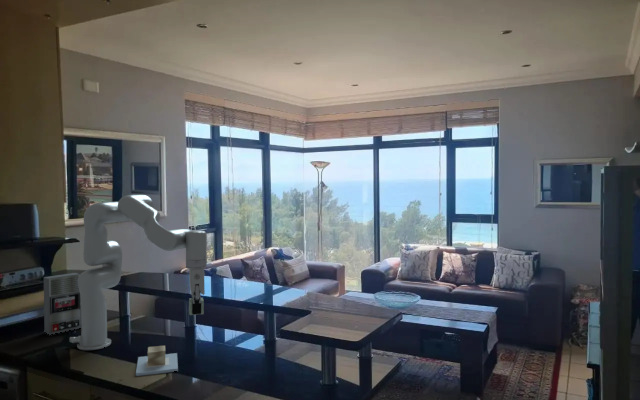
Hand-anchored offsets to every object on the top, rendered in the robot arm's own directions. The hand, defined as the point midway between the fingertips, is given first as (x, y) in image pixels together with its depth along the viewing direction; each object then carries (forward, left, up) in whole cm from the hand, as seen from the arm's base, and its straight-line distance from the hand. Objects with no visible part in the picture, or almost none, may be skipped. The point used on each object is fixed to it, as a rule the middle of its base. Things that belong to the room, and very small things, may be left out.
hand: (196, 311), depth 178 cm
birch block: (-14, 0, -18) cm, 23 cm away
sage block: (0, 0, -1) cm, 1 cm away
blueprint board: (-14, 0, -19) cm, 23 cm away
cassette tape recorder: (-55, +55, -19) cm, 80 cm away
